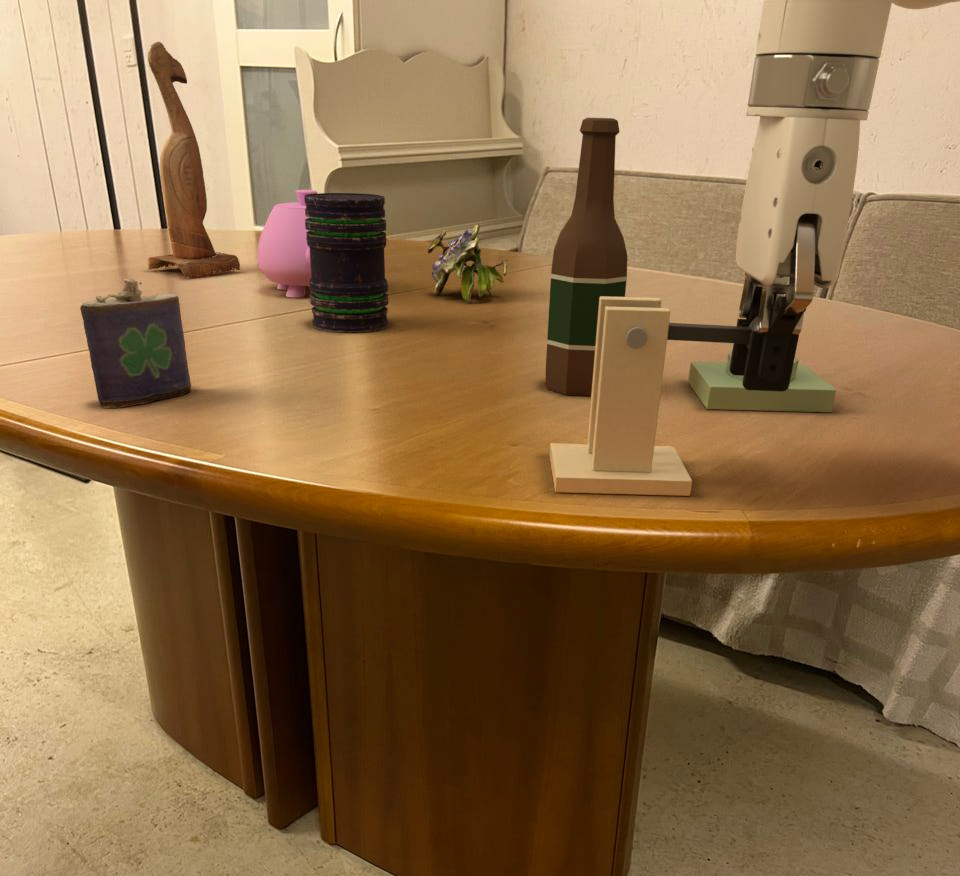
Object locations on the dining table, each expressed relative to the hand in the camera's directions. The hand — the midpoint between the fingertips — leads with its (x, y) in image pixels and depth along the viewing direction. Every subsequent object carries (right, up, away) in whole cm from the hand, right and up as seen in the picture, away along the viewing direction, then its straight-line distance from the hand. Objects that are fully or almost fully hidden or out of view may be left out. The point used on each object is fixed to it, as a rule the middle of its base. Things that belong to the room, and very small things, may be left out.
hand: (757, 379), depth 68 cm
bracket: (-10, -6, +4) cm, 12 cm away
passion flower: (-23, +32, +71) cm, 81 cm away
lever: (-5, +1, -1) cm, 5 cm away
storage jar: (-37, +21, +51) cm, 67 cm away
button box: (+7, +5, +25) cm, 26 cm away
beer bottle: (-10, +7, +27) cm, 29 cm away
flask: (-52, +3, +20) cm, 56 cm away
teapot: (-45, +33, +71) cm, 91 cm away
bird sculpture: (-68, +42, +85) cm, 116 cm away
